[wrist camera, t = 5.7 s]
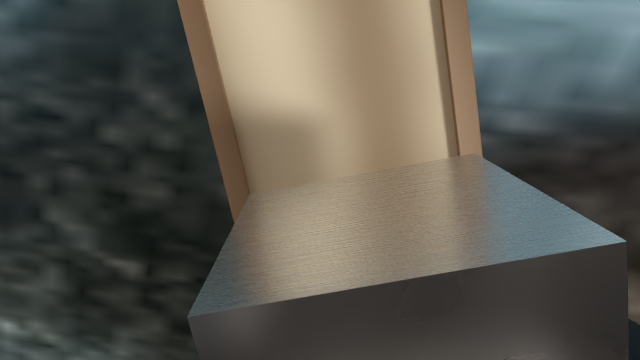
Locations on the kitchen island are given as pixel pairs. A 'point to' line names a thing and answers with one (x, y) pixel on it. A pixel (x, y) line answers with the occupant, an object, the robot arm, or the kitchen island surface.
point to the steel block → (414, 272)
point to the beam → (331, 87)
